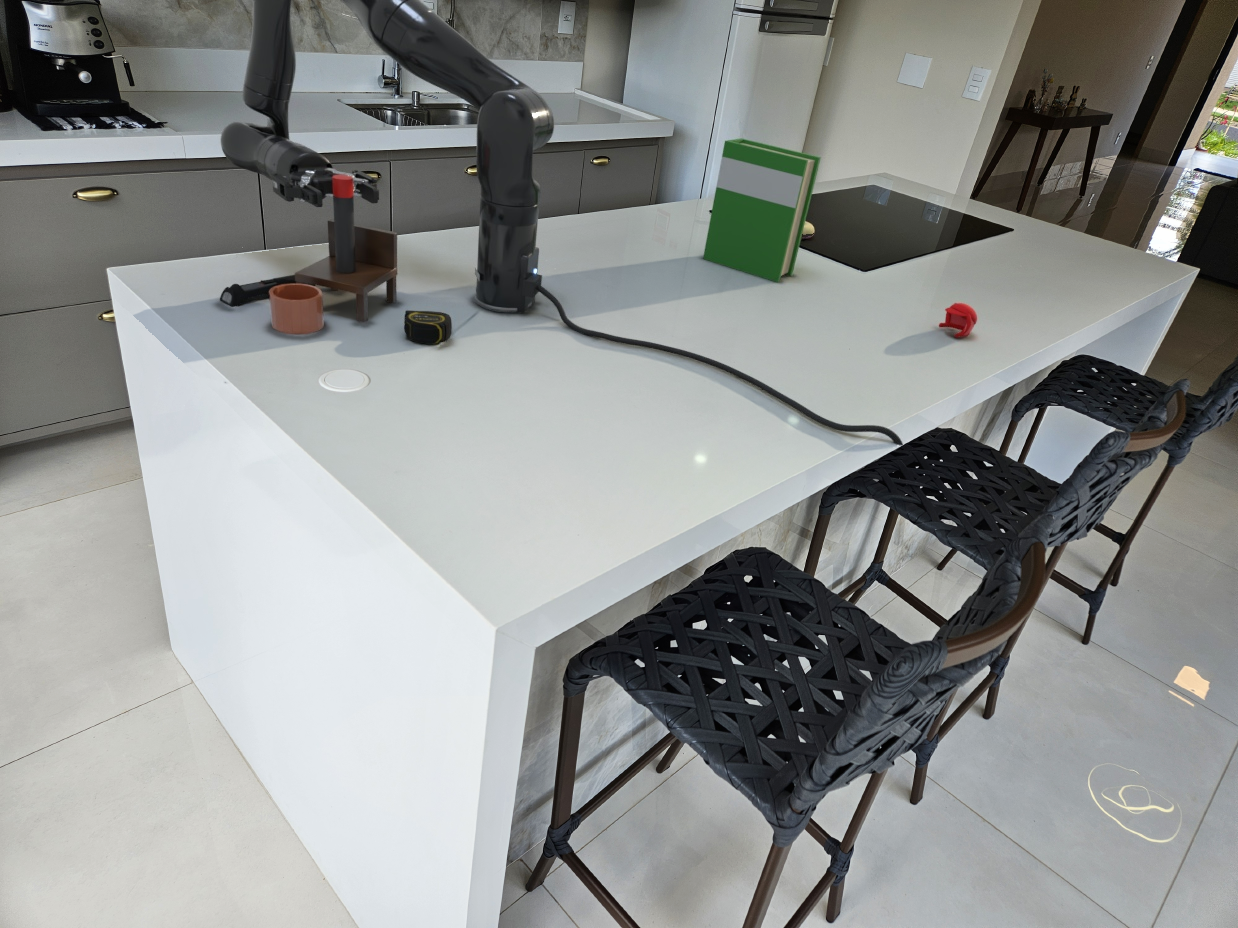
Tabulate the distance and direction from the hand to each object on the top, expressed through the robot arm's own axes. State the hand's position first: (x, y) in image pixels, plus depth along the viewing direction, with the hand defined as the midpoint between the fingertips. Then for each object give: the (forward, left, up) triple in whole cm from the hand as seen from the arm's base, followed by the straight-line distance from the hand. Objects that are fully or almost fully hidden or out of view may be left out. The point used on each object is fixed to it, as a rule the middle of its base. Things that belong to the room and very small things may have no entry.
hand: (348, 198), depth 121 cm
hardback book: (-56, -65, -17) cm, 88 cm away
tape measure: (-14, +4, -17) cm, 23 cm away
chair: (+1, -1, -17) cm, 17 cm away
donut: (-64, -100, -17) cm, 120 cm away
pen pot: (+3, +10, -17) cm, 20 cm away
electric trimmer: (+13, +2, -17) cm, 22 cm away
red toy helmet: (-97, -48, -17) cm, 110 cm away
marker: (+1, -1, -11) cm, 11 cm away
